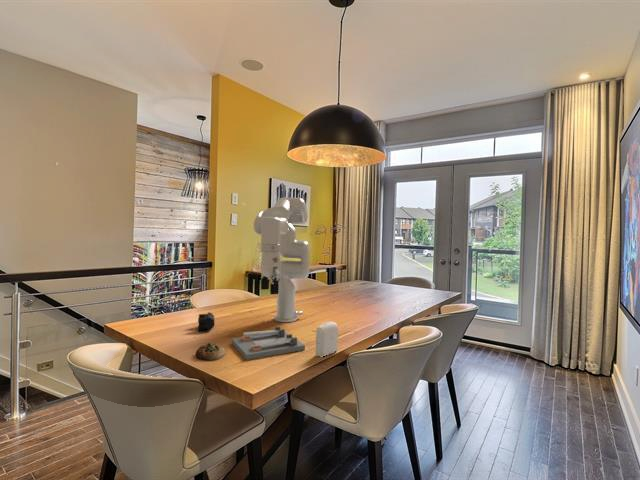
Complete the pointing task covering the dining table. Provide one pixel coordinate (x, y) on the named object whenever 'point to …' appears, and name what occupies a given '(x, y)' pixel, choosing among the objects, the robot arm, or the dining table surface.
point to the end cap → (205, 322)
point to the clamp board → (253, 352)
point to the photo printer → (326, 338)
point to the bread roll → (210, 352)
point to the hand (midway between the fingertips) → (269, 291)
